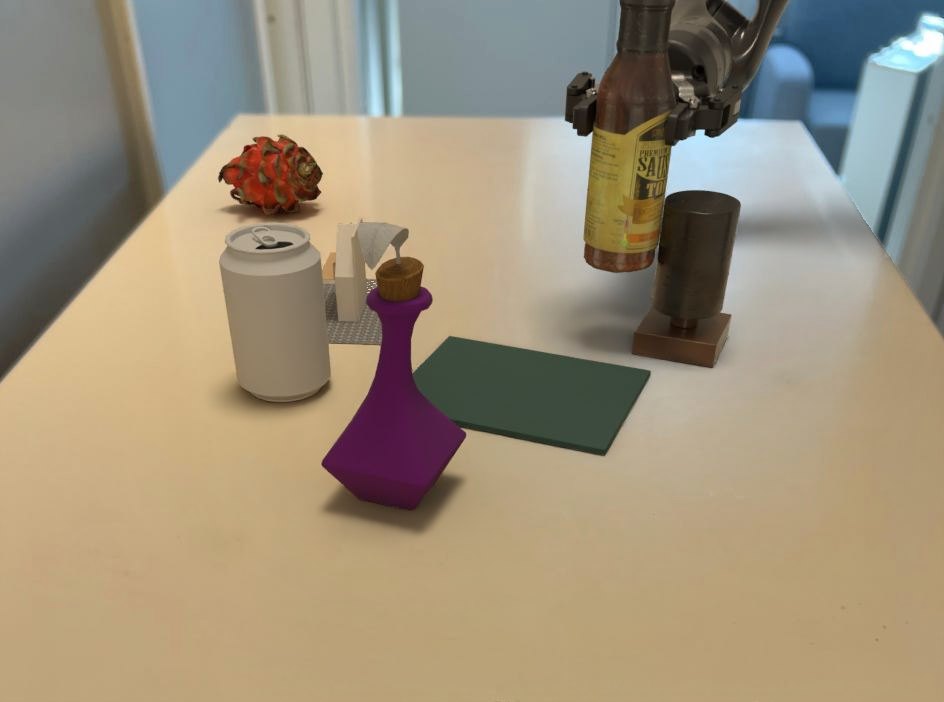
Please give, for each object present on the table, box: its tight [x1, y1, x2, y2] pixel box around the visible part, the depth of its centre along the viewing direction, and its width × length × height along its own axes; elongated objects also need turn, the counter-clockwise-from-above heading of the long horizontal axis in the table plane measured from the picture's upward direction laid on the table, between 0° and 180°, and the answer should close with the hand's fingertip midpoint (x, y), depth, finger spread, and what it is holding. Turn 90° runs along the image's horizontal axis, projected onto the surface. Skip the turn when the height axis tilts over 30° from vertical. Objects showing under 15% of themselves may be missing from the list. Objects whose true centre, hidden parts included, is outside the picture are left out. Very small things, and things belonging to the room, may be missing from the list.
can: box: [218, 221, 332, 403], centre depth 76 cm, size 8×8×12 cm
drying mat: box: [412, 335, 652, 456], centre depth 79 cm, size 18×14×1 cm
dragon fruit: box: [217, 134, 324, 217], centre depth 111 cm, size 8×8×12 cm
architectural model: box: [322, 215, 382, 345], centre depth 90 cm, size 3×7×7 cm, turn 177°
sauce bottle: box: [583, 0, 677, 274], centre depth 77 cm, size 7×6×20 cm
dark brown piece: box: [631, 189, 742, 368], centre depth 83 cm, size 7×7×12 cm
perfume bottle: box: [321, 221, 467, 511], centre depth 62 cm, size 8×8×18 cm
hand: (626, 126), depth 74 cm, fingers closed on sauce bottle, 6 cm apart
